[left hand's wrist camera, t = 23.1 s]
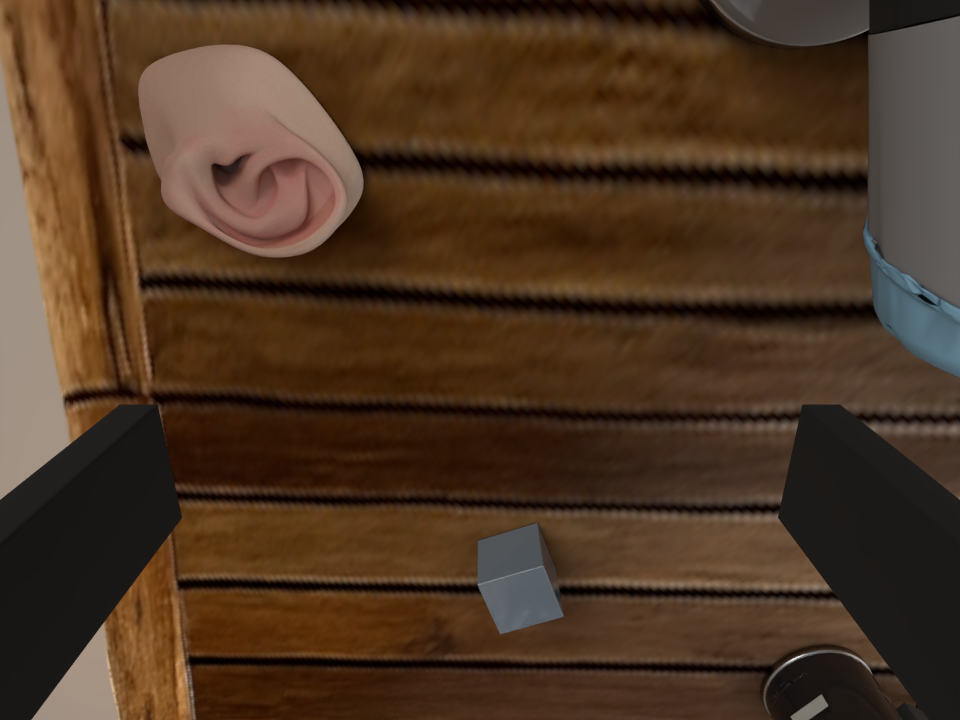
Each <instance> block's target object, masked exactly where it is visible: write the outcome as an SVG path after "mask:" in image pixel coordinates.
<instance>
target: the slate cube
mask: <svg viewBox="0 0 960 720" xmlns="http://www.w3.org/2000/svg"><path fill="white" fill-rule="evenodd" d="M478 587H479V589H480V591H481V594H482V596H483V598H484V600H485V602H486V604H487V607H488V609H489V611H490V613H491V615H492V617H493V620H494V622H495V624H496V626H497V628H498V630H499V633H500V634H504V633H507V632H511V631H514V630H518V629H522V628H525V627H529V626H532V625H536V624H540V623H543V622H547V621H550V620H554V619H558V618H561V617H564V614H563V608H562V602H561V596H560V590H559V584H558V578H557V572H556V569H555V566H554V564H553V561H552V559H551V556H550V553H549V551H548V548H547V546H546V543H545V541H544V538H543V536H542V533H541V531H540V528H539V526H538V524H537V523H535V524H532V525H529V526H525V527H522V528H519V529H515V530H512V531H508V532H505V533H502V534H498V535H495V536H492V537H488V538H485V539H482V540H479V541H478Z"/></svg>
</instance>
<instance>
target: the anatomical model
mask: <svg viewBox="0 0 960 720" xmlns="http://www.w3.org/2000/svg"><path fill="white" fill-rule="evenodd" d="M138 94H139V105H140V111H141V116H142V121H143V126H144V131H145V136H146V141H147V144H148V147H149V151H150V154H151V156H152V159H153V162H154V165H155V168H156V170H157V173H158V175H159V177H160V179H161V181H162V183H161V193H162V197H163V200H164V202H165V203H166V205H167V206H168V207H169V208H170V209H171V210H172V211H173V212H175V213H176V214H178V215H179V216H181V217H182V218H184V219H186V220H188V221H190V222H191V223H193V224H195V225H197V226H198V227H200V228H202V229H204V230H205V231H207V232H209V233H210V234H212V235H214V236H215V237H217V238H219V239H220V240H222V241H224V242H226V243H228V244H230V245H231V246H233V247H235V248H238V249H240V250H242V251H245V252H247V253H250V254H254V255H258V256H263V257H273V258H279V257H290V256H296V255H301V254H304V253H307V252H309V251H311V250H313V249H315V248H316V247H318V246H319V245H321V244H322V243H323V242H324V241H326V240H327V239H328V238H329V237H330V236H331V235H332V234H333V232H334V231H335V230H336V229H337V228H338V227H339V226H340V225H341V224H342V223H343V222H344V221H345V220H346V218H347V217H348V216H349V215H350V213H351V212H352V211H353V209H354V208H355V206H356V205H357V203H358V201H359V199H360V197H361V195H362V191H363V182H364V180H363V174H362V170H361V167H360V165H359V162H358V160H357V159H356V157H355V155H354V153H353V151H352V149H351V147H350V146H349V144H348V143H347V141H346V140H345V138H344V137H343V135H342V134H341V132H340V131H339V129H338V128H337V126H336V125H335V123H334V122H333V121H332V119H331V118H330V117H329V115H328V114H327V113H326V111H325V110H324V109H323V108H322V106H321V105H320V104H319V103H318V101H317V100H316V99H315V98H314V96H313V95H312V94H311V93H310V92H309V90H308V89H307V88H306V87H305V86H304V85H303V84H302V82H301V81H300V80H299V79H298V78H297V77H296V76H295V75H294V74H293V73H292V72H291V71H290V70H289V69H288V68H286V67H285V66H284V65H283V64H282V63H281V62H279V61H278V60H277V59H275V58H274V57H272V56H270V55H269V54H267V53H265V52H263V51H260V50H258V49H255V48H251V47H248V46H241V45H212V46H204V47H199V48H194V49H189V50H186V51H182V52H179V53H175V54H172V55H169V56H167V57H164V58H162V59H159V60H158V61H156V62H154V63H152V64H151V65H150V66H148V67H147V68H146V69H145V71H144V72H143V74H142V76H141V78H140V81H139V91H138Z"/></svg>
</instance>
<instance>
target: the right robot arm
mask: <svg viewBox="0 0 960 720" xmlns="http://www.w3.org/2000/svg"><path fill="white" fill-rule="evenodd" d="M761 697H762V701H763V704H764V706H765V708H766V710H767V712H768V713H769V715H770V716H771V717H772V719H773V720H929V719H928V718H927V717H926V715H925V714H924V713H923V711H922V710H921V709H920V707H919V706H918V705H917V703H916V708H915V707H913V706H911V705H909V704H907V703H905V702H904V703H903V704H902V705H901V706H900V707H898V708H897V709H896V708H895V707H894V705H893V704H892V702H891V701H890V699H889V698H888V696H887V695H886V694H885V692H884V691H883V689H882V688H881V687H880V685H879V684H878V682H877V681H876V679H875V678H874V677H873V675H872V672H871V670H870V669H869V667H868V666H867V664H866V663H865V662H864V660H863V659H862V658H861V657H860V656H859V655H857V654H856V653H854V652H852V651H850V650H848V649H845V648H841V647H836V646H815V647H810V648H805V649H802V650H799V651H796V652H794V653H792V654H790V655H788V656H786V657H785V658H783V659H782V660H780V661H779V662H778V663H776V664H775V665H774V666H773V667H772V668H771V669H770V671H769V672H768V673H767V675H766V676H765V678H764V680H763V683H762V687H761Z"/></svg>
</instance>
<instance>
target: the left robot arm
mask: <svg viewBox="0 0 960 720" xmlns="http://www.w3.org/2000/svg"><path fill="white" fill-rule="evenodd" d="M700 1H701V3H702V4H703V5H704V7H705V8H706V9H707V10H708V11H709V12H710V14H711V15H712V16H713V17H714V18H715V19H716V20H717V21H719V22H720V23H721V24H722V25H723V26H725V27H726V28H727V29H729V30H730V31H731V32H733V33H735V34H737V35H738V36H740V37H742V38H744V39H747V40H749V41H751V42H754V43H757V44H760V45H764V46H768V47H774V48H784V49H797V48H808V47H814V46H819V45H824V44H829V43H833V42H837V41H841V40H844V39H847V38H850V37H853V36H855V35H858V34H861V33H863V32H865V31H867V30H869V34H870V35H868V102H869V140H868V216H867V218H866V222H865V226H864V228H863V238H864V244H865V246H866V249H867V251H868V253H869V255H870V265H871V283H872V299H873V304H874V308H875V312H876V314H877V316H878V318H879V320H880V322H881V323H882V325H883V327H884V328H885V329H886V330H887V331H888V332H889V333H890V334H892V335H893V336H894V337H895V338H897V339H898V340H899V341H900V343H901V344H902V346H903V347H904V348H906V349H907V350H908V351H909V352H911V353H912V354H914V355H915V356H917V357H919V358H920V359H922V360H924V361H926V362H927V363H929V364H931V365H933V366H935V367H937V368H939V369H941V370H943V371H945V372H948V373H950V374H952V375H955V376H957V377H960V0H700ZM871 33H873V34H871ZM181 518H182V516H181V511H180V506H179V502H178V497H177V492H176V488H175V483H174V479H173V474H172V469H171V465H170V460H169V455H168V451H167V446H166V442H165V437H164V432H163V428H162V423H161V418H160V414H159V409H158V405H119V406H118V407H116V408H115V409H114V410H113V411H111V412H110V413H109V414H108V415H106V416H105V417H104V418H102V419H101V420H100V421H99V422H97V423H96V424H95V425H94V426H92V427H91V428H90V429H89V430H87V431H86V432H85V433H84V434H82V435H81V436H80V437H79V438H77V439H76V440H75V441H74V442H72V443H71V444H70V445H69V446H67V447H66V448H65V449H64V450H62V451H61V452H60V453H59V454H57V455H56V456H55V457H53V458H52V459H51V460H50V461H48V462H47V463H46V464H45V465H44V466H42V467H41V468H40V469H38V470H37V471H36V472H35V473H33V474H32V475H31V476H30V477H28V478H27V479H26V480H25V481H23V482H22V483H21V484H20V485H18V486H17V487H16V488H15V489H13V490H12V491H11V492H10V493H8V494H7V495H6V496H5V497H3V498H2V499H1V500H0V720H31V719H32V718H33V717H34V715H35V714H36V713H37V711H38V710H39V709H40V707H41V706H42V705H43V703H44V702H45V701H46V699H47V698H48V697H49V695H50V694H51V692H52V691H53V690H54V688H55V687H56V686H57V684H58V683H59V682H60V680H61V679H62V678H63V676H64V675H65V674H66V672H67V671H68V670H69V668H70V667H71V666H72V664H73V663H74V662H75V660H76V659H77V658H78V656H79V655H80V654H81V652H82V651H83V650H84V648H85V647H86V646H87V644H88V643H89V642H90V640H91V639H92V638H93V636H94V635H95V634H96V632H97V631H98V629H99V628H100V627H101V626H102V624H103V623H104V622H105V620H106V619H107V617H108V616H109V615H110V613H111V612H112V611H113V609H114V608H115V607H116V605H117V604H118V603H119V601H120V600H121V599H122V597H123V596H124V595H125V593H126V592H127V591H128V589H129V588H130V587H131V585H132V584H133V583H134V581H135V580H136V579H137V577H138V576H139V575H140V573H141V572H142V571H143V569H144V568H145V567H146V565H147V564H148V563H149V561H150V560H151V558H152V557H153V556H154V554H155V553H156V552H157V550H158V549H159V548H160V546H161V545H162V544H163V542H164V541H165V540H166V538H167V537H168V536H169V534H170V533H171V532H172V530H173V529H174V528H175V526H176V525H177V524H178V522H179V521H180V520H181ZM778 518H779V520H780V521H781V522H782V524H783V525H784V526H785V528H786V529H787V530H788V532H789V533H790V534H791V536H792V537H793V538H794V540H795V541H796V542H797V544H798V545H799V546H800V548H801V549H802V550H803V552H804V553H805V554H806V556H807V557H808V558H809V560H810V561H811V563H812V564H813V565H814V567H815V568H816V569H817V571H818V572H819V573H820V575H821V576H822V577H823V579H824V580H825V581H826V583H827V584H828V585H829V587H830V588H831V589H832V591H833V592H834V593H835V595H836V596H837V597H838V599H839V600H840V601H841V603H842V604H843V605H844V607H845V608H846V609H847V611H848V612H849V613H850V615H851V616H852V617H853V619H854V620H855V622H856V623H857V624H858V626H859V627H860V628H861V630H862V631H863V632H864V634H865V635H866V636H867V638H868V639H869V640H870V642H871V643H872V644H873V646H874V647H875V648H876V650H877V651H878V652H879V654H880V655H881V656H882V658H883V659H884V660H885V662H886V663H887V664H888V666H889V667H890V668H891V670H892V671H893V672H894V674H895V675H896V676H897V678H898V679H899V681H900V682H901V683H902V685H903V686H904V687H905V689H906V690H907V691H908V693H909V694H910V695H911V697H912V698H913V699H914V701H915V702H916V703H917V705H918V706H919V707H920V709H921V710H922V711H923V713H924V714H925V715H926V717H927V718H928V719H929V720H960V500H959V499H958V498H957V497H955V496H954V495H953V494H952V493H950V492H949V491H948V490H947V489H945V488H944V487H943V486H942V485H940V484H939V483H938V482H937V481H935V480H934V479H933V478H932V477H930V476H929V475H928V474H927V473H925V472H924V471H923V470H922V469H920V468H919V467H918V466H917V465H915V464H914V463H913V462H912V461H910V460H909V459H908V458H907V457H905V456H904V455H903V454H901V453H900V452H899V451H898V450H896V449H895V448H894V447H893V446H891V445H890V444H889V443H888V442H886V441H885V440H884V439H883V438H881V437H880V436H879V435H878V434H876V433H875V432H874V431H873V430H871V429H870V428H869V427H868V426H866V425H865V424H864V423H863V422H861V421H860V420H859V419H858V418H856V417H855V416H854V415H852V414H851V413H850V412H849V411H847V410H846V409H845V408H844V407H842V406H841V405H802V409H801V414H800V418H799V423H798V428H797V432H796V437H795V442H794V446H793V451H792V455H791V460H790V465H789V469H788V474H787V479H786V483H785V488H784V492H783V497H782V502H781V506H780V511H779V516H778Z"/></svg>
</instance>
